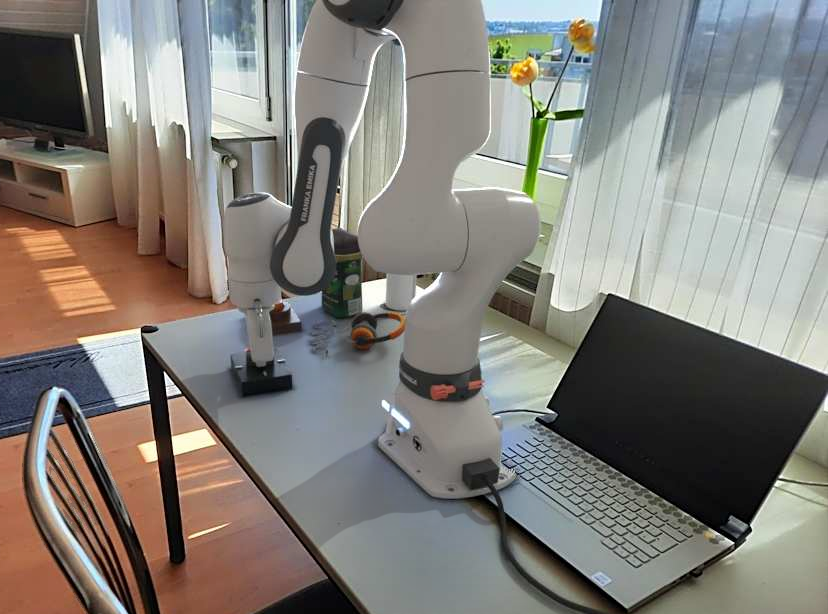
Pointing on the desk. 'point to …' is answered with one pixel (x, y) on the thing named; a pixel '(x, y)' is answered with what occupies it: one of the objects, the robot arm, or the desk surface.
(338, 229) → the coffee jar
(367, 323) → the headphones
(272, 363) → the dial
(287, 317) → the button block
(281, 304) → the button
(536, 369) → the desk surface
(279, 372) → the dial panel
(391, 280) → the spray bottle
